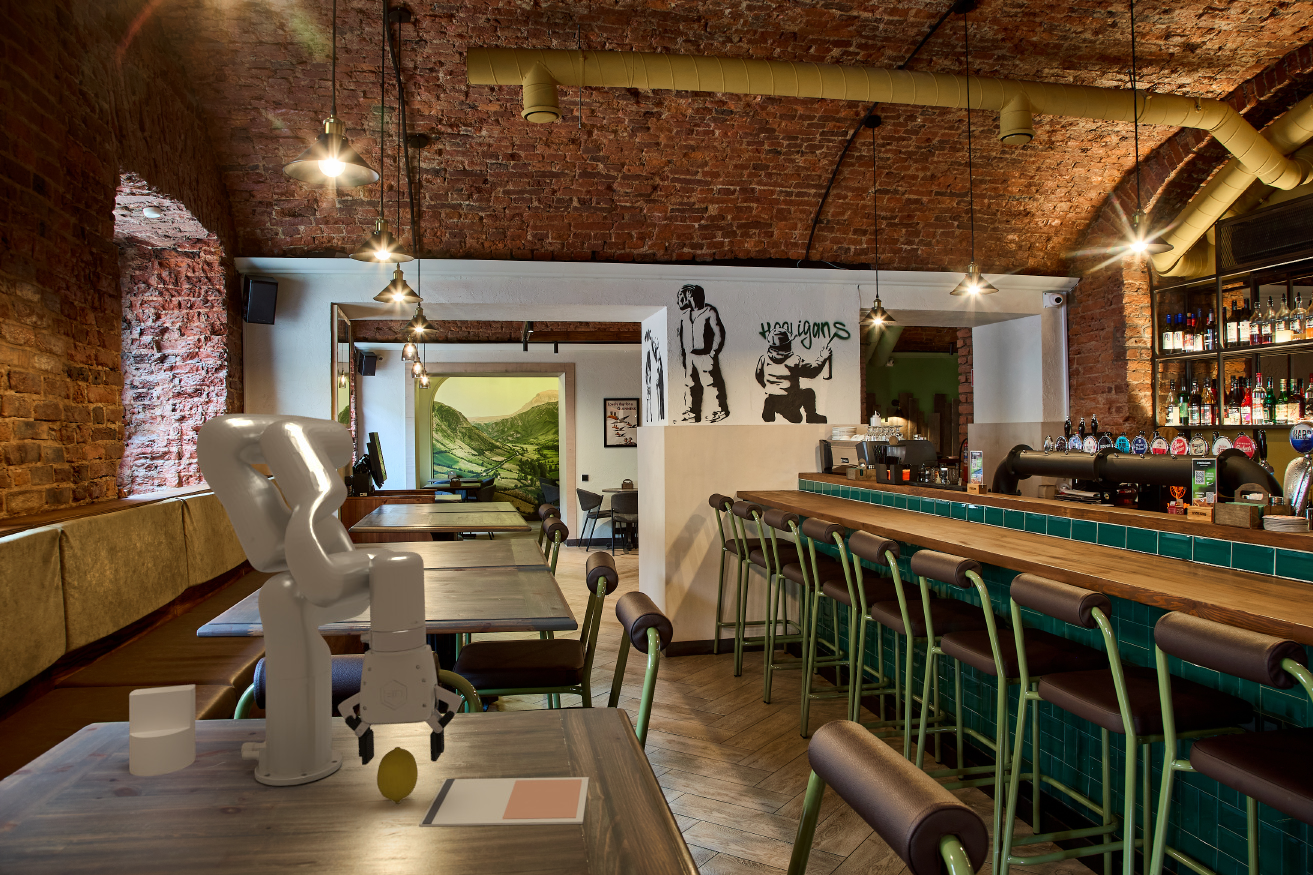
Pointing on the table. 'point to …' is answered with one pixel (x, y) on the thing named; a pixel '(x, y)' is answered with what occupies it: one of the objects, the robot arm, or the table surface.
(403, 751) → the lemon
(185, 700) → the base with upright slab
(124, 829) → the table surface
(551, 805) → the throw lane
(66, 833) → the table surface
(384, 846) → the table surface
